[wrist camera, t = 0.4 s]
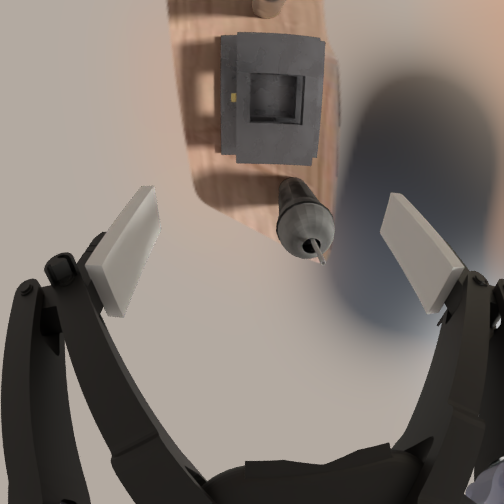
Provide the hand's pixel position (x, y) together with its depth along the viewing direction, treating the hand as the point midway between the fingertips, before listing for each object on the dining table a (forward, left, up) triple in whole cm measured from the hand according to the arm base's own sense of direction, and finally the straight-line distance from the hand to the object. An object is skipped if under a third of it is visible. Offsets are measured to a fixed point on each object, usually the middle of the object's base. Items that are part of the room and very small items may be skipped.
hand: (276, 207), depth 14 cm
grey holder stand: (-5, +2, -27) cm, 27 cm away
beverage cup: (+10, +6, -27) cm, 30 cm away
